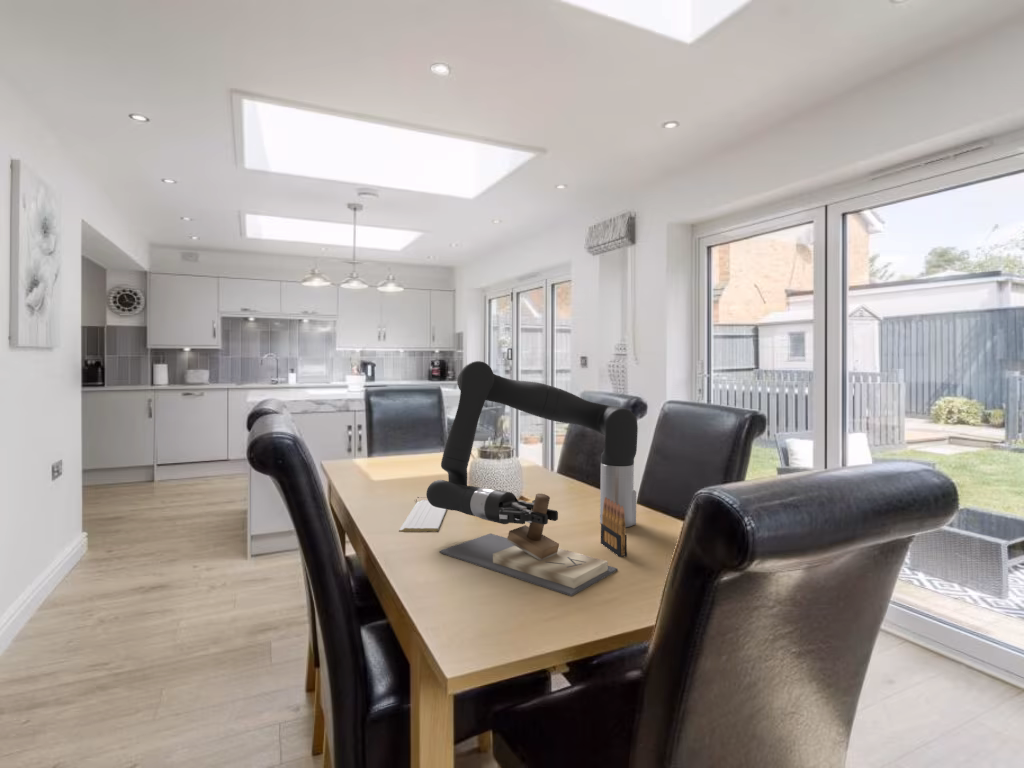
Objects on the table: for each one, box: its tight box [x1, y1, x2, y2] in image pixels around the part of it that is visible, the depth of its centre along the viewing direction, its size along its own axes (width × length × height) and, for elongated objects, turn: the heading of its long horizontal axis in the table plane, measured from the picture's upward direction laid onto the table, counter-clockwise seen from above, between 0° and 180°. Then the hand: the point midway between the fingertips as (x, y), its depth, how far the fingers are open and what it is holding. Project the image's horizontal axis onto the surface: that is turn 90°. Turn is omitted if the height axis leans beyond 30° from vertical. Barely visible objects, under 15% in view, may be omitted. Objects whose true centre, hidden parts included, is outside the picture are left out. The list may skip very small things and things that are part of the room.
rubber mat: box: [439, 533, 618, 597], centre depth 129 cm, size 38×18×1 cm, turn 50°
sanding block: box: [507, 493, 560, 561], centre depth 126 cm, size 10×6×12 cm, turn 50°
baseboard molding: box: [398, 496, 448, 532], centre depth 167 cm, size 31×3×12 cm
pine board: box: [493, 546, 609, 588], centre depth 124 cm, size 22×13×2 cm, turn 50°
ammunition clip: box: [600, 497, 628, 558], centre depth 137 cm, size 11×2×12 cm, turn 16°
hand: (551, 517), depth 124 cm, fingers closed on sanding block, 3 cm apart
